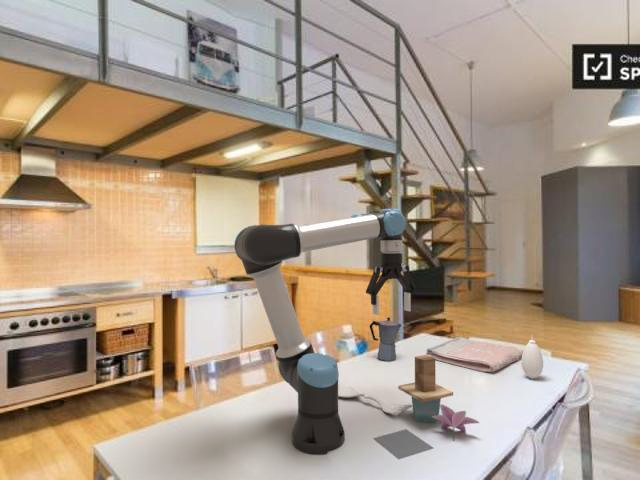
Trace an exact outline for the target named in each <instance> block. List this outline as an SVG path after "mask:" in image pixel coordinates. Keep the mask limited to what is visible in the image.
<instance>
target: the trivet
mask: <svg viewBox="0 0 640 480" xmlns="http://www.w3.org/2000/svg"><path fill="white" fill-rule="evenodd" d="M372 439H373V440H374V441H375V442H376V443H378V444H379V445H380V446H381V447H382V448H384V449H385V450H386V451H388V452H389V453H390V454H391V455H392V456H394V457H395V458H396V459H397V460H401V459H405V458H408V457H411V456H413V455H418V454H420V453H423V452H427V451H430V450H433V449H434V447H433V446H432V445H430V444H429V443H428V442H426V441H424V440H423V439H422V438H420V437H418V435H416V434H414V433H412V431H409V430H408V429H407V428H405V429H403V430H399V431H394V432H391V433H388V434H383V435H379V436H375V437H373V438H372Z"/></svg>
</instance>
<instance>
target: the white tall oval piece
mask: <svg viewBox="0 0 640 480" xmlns="http://www.w3.org/2000/svg"><path fill="white" fill-rule="evenodd" d="M533 336H534V335H531V339H530V340H528V343H526V345H525V347H524V349H523V354H522V357H521V368H522V370H523V373H524V374H525V375H526V376H527V377H528V378H530V379H531V380H535V379H538V377H540V375H541V374H542V372H543V370H544V359H543V355H542V352H541V349H540V347H539V346H538V344H537V342H536V340H534V337H533Z"/></svg>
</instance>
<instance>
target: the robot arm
mask: <svg viewBox="0 0 640 480" xmlns="http://www.w3.org/2000/svg"><path fill="white" fill-rule="evenodd" d="M406 223H407V222H406V218H405V216H404V215H403V213H402V210H401V209H399V208H383V209H381V210H380V212H375V213H373V212H372V213H355V214H353V215H351V217H346V218H340V219H334V220H329V221H322V222H316V223H309V224H304V225H296V224H295V223H288V224H253V225H249V226H247V227H245V228H243V229H242V230H240V231H239V233H238V234H237V235H236V237H235V240H234V245H233V246H234V251H235V254H236V256H237V257H238V258H239V260H241V263H242V266H243V268H244V271H245V273H246V276H249V277H251V278H253V280H254V283H255V286H256V289H257V292H258V294H259V298H260V300H261V303H262V305H263V308H264V311H265V313H266V317H267V320H268V322H269V324H270V327H271V330H272V333H273V336H274V338H275V341H276V344H277V347H278V348H277V349H276V352H275V355H276V358H277V363H278V364H277V366H278V370H279V371H278V372H279V374H280V376H281V377H282V379H283V380H284V381H285V382H286V383H287V384H289V385H290V387H292V389H293V390H294V391H295V392H296V393H297V415H296V419H295V422H294V425H293V429H292V433H291V437H292V438H291V441H292V442H291V443H292V444H293V446H294V447H295V448H296V450H297V449H298V450H299V451H300V452H304V453H307V454H314V455H321V454H328V453H329V452H332V451H336V450H338V449H339V448H341V447H342V446H343V444H344V443H345V440H346V438H345V436H346V435H345V434H346V433H345V429H344V425H343V423H342V420H341V417H340V413H339V396H338V385H339V375H340V373H339V368H338V367H339V366H338V362H337V361H336V359H334V358H333V357H332V356H330V355H328V354H324V353H319V352H317V353H316V352H315V350H314V348H313V347H314V346H313V345H312V342H311V340H310V339H309V338H307V337H305V335H304V333H303V331H302V327H301V325H300V321H299V318H298V317H297V314H296V311H295V308H294V305H293V302H292V300H291V299H292V298H291V296H290V293H289V290H288V288H287V285H286V283H285V279H284V276H283V274H282V271H281V267H282V264H283V261H286V260H290V259H293V258H294V259H295V258H298V257H300V256H301V255H302V253H306V252H311V251H316V250H321V249H326V248H332V247H337V246H341V245H346V244H347V245H348V244H351V243H357V242H362V241H367V240H371V239H377V238H379V239H380V252H382V253H381V254H380V263H381V266H374V267H373V273H372V275H371V277H370V280H369V283H368V285H367V287H366V289H365V293H366V294H367V295H369V296H370V304H371V305H372V314H373V315H377V316H380V296H379V292H380V291H381V289H382V287H383V286H384V285H385V283H386V282H387V281H388V280H393V279H395V280H397V282H399V284H400V285H401V287H402V288H403V290H404V291H405V292H403V310H404V311H407V312H411V302H412V301H413V295H412V294H414V293H415V292H416V291H417V289H418V288H417V285H416V284H415V282H414V279H413V277H412V275H411V271H410V266H409V265H405V264H403V253H402V252H403V232H404V231H405V229H406V225H407V224H406ZM402 264H403V265H402Z"/></svg>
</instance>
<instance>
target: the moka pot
mask: <svg viewBox="0 0 640 480" xmlns="http://www.w3.org/2000/svg"><path fill="white" fill-rule="evenodd" d="M373 326H376V327H377V326H378V336H379V338H376V336H375V331H374V327H373ZM401 327H402V324H401V323H399V322H395V321H392V320H391V317H390V316H389V317H386V320H381V321H377V320H376V321H375V320H373V321H372V322H371V323H370V324H369V330H370V333H371V335H372V339H373V341H379V344H378V345H379V346H378V351H377V359H378V360H381V361H385V362H393V361H396V359H397V352H396V344H395V343H396V339H397V336H398V335H397V334H398V332H399V330H400V329H401Z"/></svg>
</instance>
